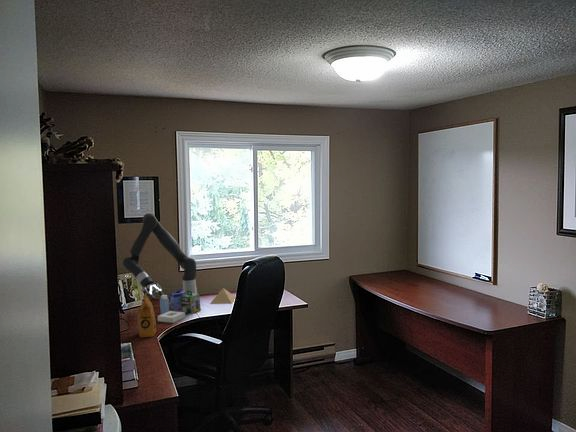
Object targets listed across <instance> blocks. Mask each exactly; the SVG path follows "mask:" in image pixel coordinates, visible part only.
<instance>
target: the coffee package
mask: <svg viewBox="0 0 576 432" xmlns="http://www.w3.org/2000/svg"><path fill="white" fill-rule="evenodd" d="M142 297H143V299H141V305H140V306H139V308H138V309H139V310H138V317H137V326H138V333H139V337H140V338H150V337H154V336H155V335H156V333H157V323H156V314H155V310H154V306H153V303H152V301H151V300H150V299H149V296H146V295H145V294H144V295H143V296H142Z"/></svg>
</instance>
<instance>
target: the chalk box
mask: <svg viewBox="0 0 576 432" xmlns="http://www.w3.org/2000/svg"><path fill="white" fill-rule="evenodd" d="M186 291H187V294H186V295H183V296H181V305H182V310H181V312H185V314H188V315H189V314H190V315H193V314H195V313H197V312H200V311H201V300H200V299H201V297H200V296H201V295H200V294H199V293H197V294H194V293H192V292H191V291H189V290H186ZM188 292H190V294H189V293H188Z"/></svg>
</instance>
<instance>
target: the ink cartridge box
mask: <svg viewBox="0 0 576 432" xmlns="http://www.w3.org/2000/svg"><path fill="white" fill-rule="evenodd" d="M183 295H186V292H184V291H183V290H182V289H177V290H176V292H171V293H170V294H169V297H170V298H169V299H170V311H176V312H182V305H181V296H183Z"/></svg>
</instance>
